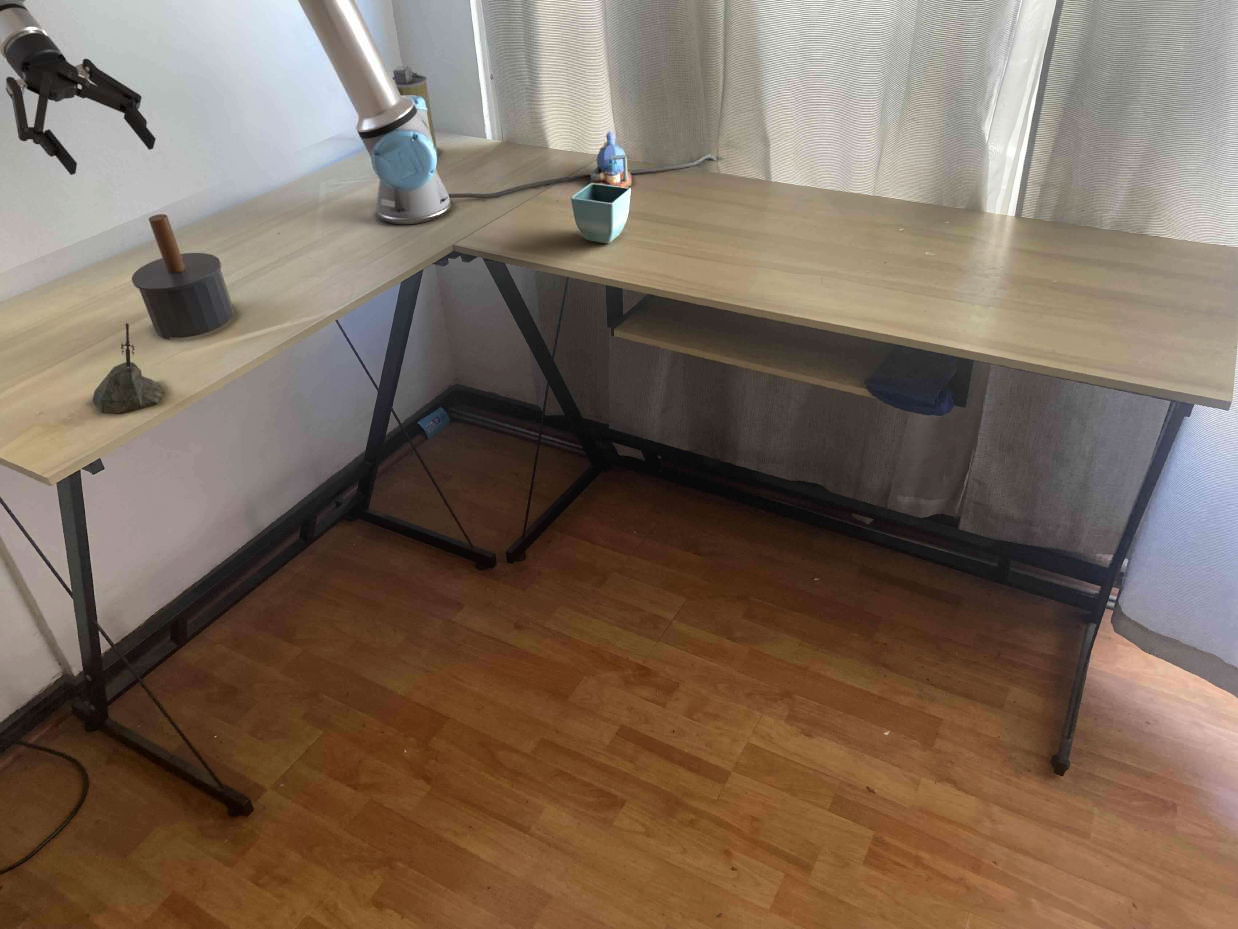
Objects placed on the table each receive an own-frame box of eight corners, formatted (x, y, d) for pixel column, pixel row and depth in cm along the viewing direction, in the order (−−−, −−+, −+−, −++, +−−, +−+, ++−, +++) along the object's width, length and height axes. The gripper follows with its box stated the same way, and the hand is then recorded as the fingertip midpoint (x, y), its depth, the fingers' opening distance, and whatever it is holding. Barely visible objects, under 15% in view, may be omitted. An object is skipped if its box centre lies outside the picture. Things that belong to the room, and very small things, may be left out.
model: (589, 172, 208) (587, 131, 203) (630, 170, 208) (629, 128, 203) (590, 191, 199) (587, 148, 193) (632, 189, 199) (631, 146, 193)
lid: (212, 252, 159) (193, 195, 153) (231, 279, 150) (212, 219, 144) (127, 273, 154) (104, 214, 148) (142, 303, 144) (118, 241, 138)
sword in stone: (85, 418, 133) (51, 345, 126) (100, 390, 140) (68, 319, 133) (157, 409, 135) (127, 336, 127) (168, 381, 141) (141, 311, 134)
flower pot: (633, 232, 180) (631, 187, 174) (614, 249, 173) (612, 203, 168) (593, 226, 183) (590, 182, 177) (573, 243, 176) (569, 198, 171)
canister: (429, 162, 219) (414, 73, 207) (388, 161, 221) (371, 73, 209) (445, 147, 227) (431, 61, 215) (405, 147, 229) (390, 61, 217)
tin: (224, 298, 164) (209, 250, 158) (243, 325, 155) (227, 276, 150) (149, 318, 159) (130, 270, 153) (163, 348, 150) (144, 297, 144)
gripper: (98, 46, 157) (178, 148, 159) (-55, 82, 141) (36, 194, 143) (103, 15, 151) (186, 120, 153) (-56, 48, 135) (39, 165, 137)
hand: (114, 156), depth 148 cm, fingers open, 13 cm apart
